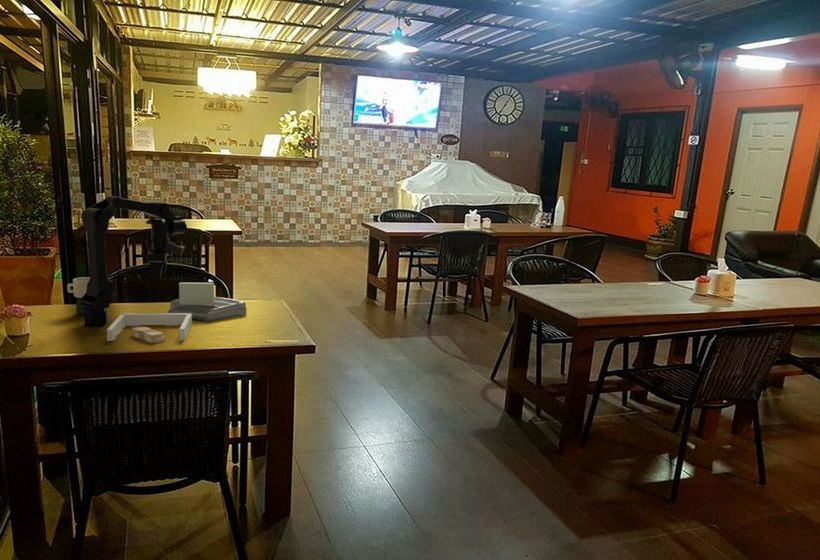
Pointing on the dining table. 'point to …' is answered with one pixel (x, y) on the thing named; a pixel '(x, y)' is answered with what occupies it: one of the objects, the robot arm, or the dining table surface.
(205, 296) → the pale green rectangular slab
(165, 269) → the robot arm
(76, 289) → the character mug
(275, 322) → the dining table surface
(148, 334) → the offcut stack
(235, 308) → the emblem
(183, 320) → the rack
